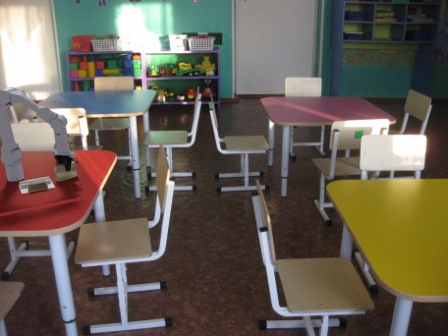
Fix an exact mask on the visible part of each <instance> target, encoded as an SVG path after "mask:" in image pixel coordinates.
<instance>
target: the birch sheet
mask: <svg viewBox="0 0 448 336" xmlns="http://www.w3.org/2000/svg"><path fill="white" fill-rule="evenodd" d="M53 168H54V169H53V170H54V177H55V181H56V182H59V183H61V182H64V181H66V180H69V179H72V178H76V177H78V170H77V163H76V162H73V161H72V163H71V170H70V171H66V170H65V166H64V164H60V165H57V164H56V165H55V166H53Z"/></svg>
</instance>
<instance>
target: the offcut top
mask: <svg viewBox="0 0 448 336" xmlns="http://www.w3.org/2000/svg"><path fill="white" fill-rule="evenodd" d="M28 185H29V188H35V187H40V186H46V181H45V180H44V181H38V182H32V183H28Z"/></svg>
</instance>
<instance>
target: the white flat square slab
mask: <svg viewBox="0 0 448 336" xmlns="http://www.w3.org/2000/svg"><path fill="white" fill-rule="evenodd" d="M44 180H45V181H46V183H47V185H48V188H47V189H46V190H49V189H54V188H56V186H55V185H54V182H53V181H52V179H51V178H50V176H44V177H38V178H33V179H27V180H20V181H18V183H19V184H18V188H19V189H20V190H19V191H20V192H21V194H22V195H23V194H26V193H27V194H28V193H31V192H32V193H34V192H39V191H40V190H36V191H31V192H29V191H28V186H29V185H28V183H32V182H38V181H44ZM41 191H45V189H42V190H41Z"/></svg>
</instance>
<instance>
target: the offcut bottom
mask: <svg viewBox="0 0 448 336" xmlns="http://www.w3.org/2000/svg"><path fill="white" fill-rule="evenodd" d="M47 188H48V185H47V183H46V186H40V187H35V188H29V186H28V191H29V192H28V193H31V191H34V192H37V191H36V190H39V191H43V190H42V189H44V190H48V189H47Z"/></svg>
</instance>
